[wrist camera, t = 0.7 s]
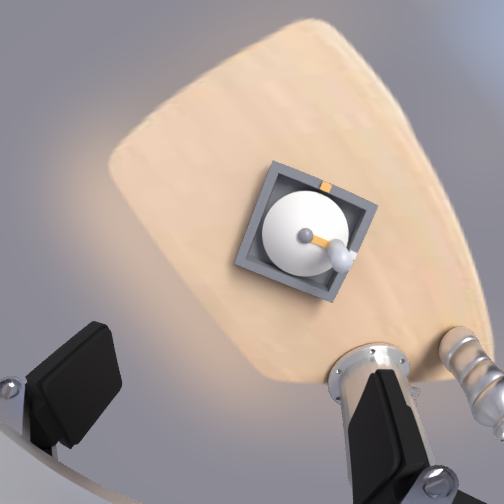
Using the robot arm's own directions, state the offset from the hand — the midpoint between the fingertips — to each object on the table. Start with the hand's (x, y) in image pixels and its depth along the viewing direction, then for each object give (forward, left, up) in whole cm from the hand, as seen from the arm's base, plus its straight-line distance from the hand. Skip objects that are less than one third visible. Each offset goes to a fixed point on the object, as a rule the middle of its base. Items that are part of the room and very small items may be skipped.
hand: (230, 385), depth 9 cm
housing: (-3, -1, -26) cm, 26 cm away
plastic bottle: (-31, +5, -26) cm, 40 cm away
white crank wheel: (-3, -1, -24) cm, 24 cm away
